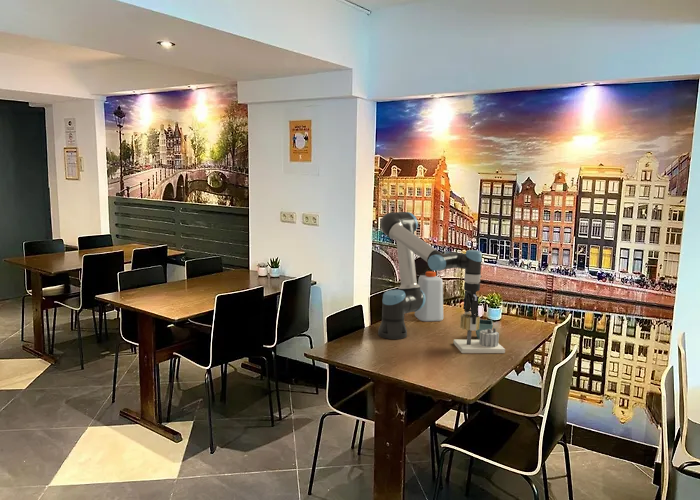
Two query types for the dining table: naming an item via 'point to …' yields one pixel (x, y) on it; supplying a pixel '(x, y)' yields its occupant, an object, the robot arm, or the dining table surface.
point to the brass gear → (468, 322)
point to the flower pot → (484, 326)
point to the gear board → (481, 343)
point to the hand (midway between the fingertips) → (469, 327)
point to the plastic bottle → (431, 297)
